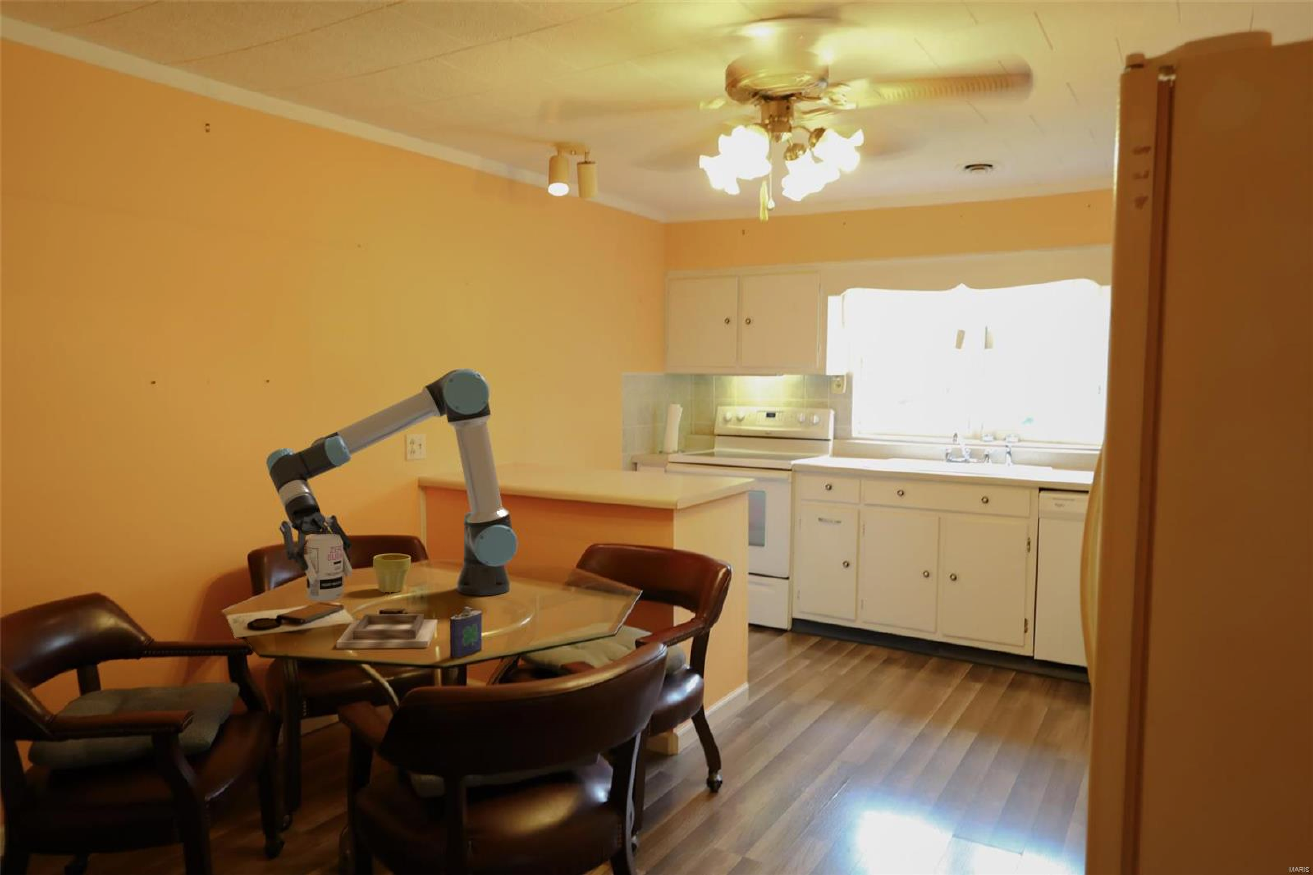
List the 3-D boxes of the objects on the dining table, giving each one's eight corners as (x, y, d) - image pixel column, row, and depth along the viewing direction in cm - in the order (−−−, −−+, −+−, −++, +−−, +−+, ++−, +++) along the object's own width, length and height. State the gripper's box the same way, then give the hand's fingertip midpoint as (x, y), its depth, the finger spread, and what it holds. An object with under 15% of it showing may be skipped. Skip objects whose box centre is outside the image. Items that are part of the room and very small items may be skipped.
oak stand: (437, 625, 216) (437, 611, 216) (427, 647, 199) (428, 632, 198) (353, 626, 214) (353, 612, 214) (336, 648, 196) (336, 633, 196)
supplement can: (313, 594, 213) (312, 533, 212) (347, 593, 214) (346, 533, 213) (302, 602, 205) (301, 539, 204) (338, 602, 206) (337, 539, 205)
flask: (476, 647, 200) (476, 601, 199) (485, 650, 198) (486, 603, 197) (446, 658, 192) (447, 610, 191) (456, 660, 190) (457, 612, 190)
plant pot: (414, 586, 256) (414, 553, 256) (405, 594, 246) (405, 560, 245) (378, 585, 256) (379, 552, 255) (368, 594, 245) (368, 559, 245)
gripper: (334, 508, 226) (367, 579, 217) (252, 516, 211) (283, 593, 201) (344, 489, 222) (378, 561, 213) (261, 497, 207) (293, 575, 197)
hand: (331, 577), depth 207 cm, fingers closed on supplement can, 8 cm apart
